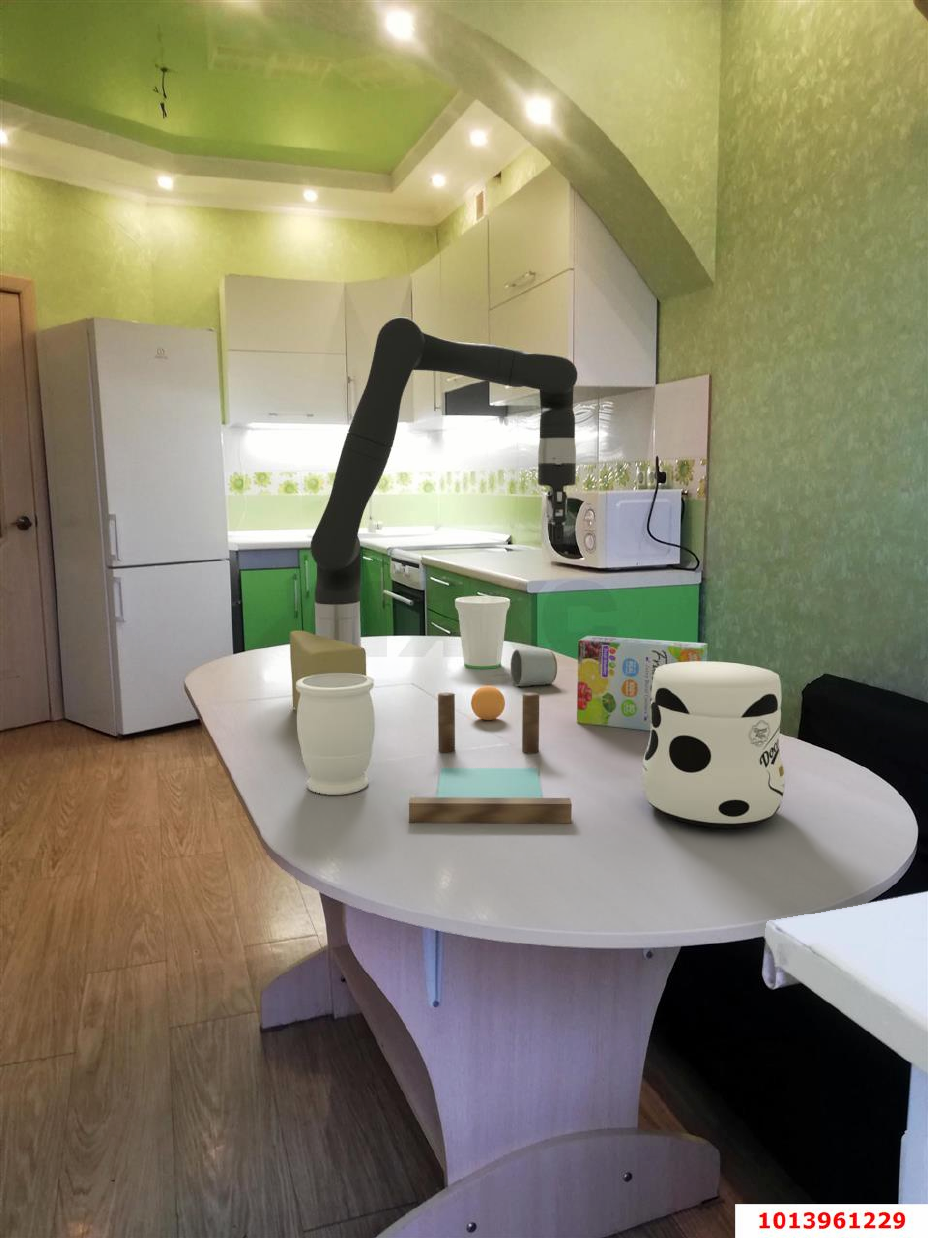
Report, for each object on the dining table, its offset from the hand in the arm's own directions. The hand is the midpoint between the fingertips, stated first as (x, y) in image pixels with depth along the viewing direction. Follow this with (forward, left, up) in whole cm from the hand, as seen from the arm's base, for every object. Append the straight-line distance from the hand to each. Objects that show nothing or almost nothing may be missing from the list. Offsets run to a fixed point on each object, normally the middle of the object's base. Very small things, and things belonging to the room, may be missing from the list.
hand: (555, 542), depth 175 cm
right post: (-7, -46, -29) cm, 55 cm away
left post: (-21, -46, -29) cm, 58 cm away
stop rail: (-14, -74, -29) cm, 81 cm away
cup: (-15, +18, -30) cm, 38 cm away
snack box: (+12, -32, -30) cm, 45 cm away
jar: (-35, -62, -30) cm, 77 cm away
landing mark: (-14, -62, -29) cm, 70 cm away
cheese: (-44, -29, -30) cm, 60 cm away
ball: (-14, -28, -26) cm, 41 cm away
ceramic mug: (-5, 0, -30) cm, 30 cm away
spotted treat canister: (+14, -71, -30) cm, 78 cm away
